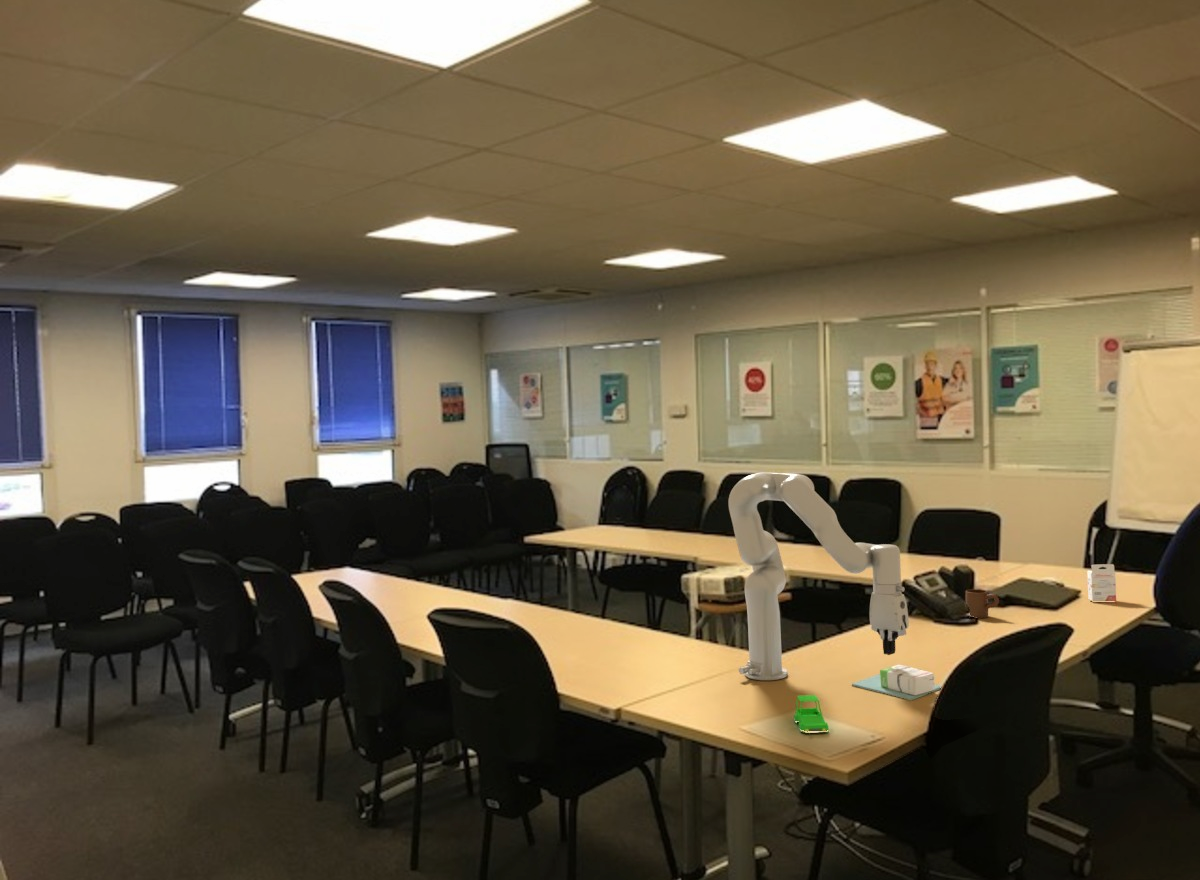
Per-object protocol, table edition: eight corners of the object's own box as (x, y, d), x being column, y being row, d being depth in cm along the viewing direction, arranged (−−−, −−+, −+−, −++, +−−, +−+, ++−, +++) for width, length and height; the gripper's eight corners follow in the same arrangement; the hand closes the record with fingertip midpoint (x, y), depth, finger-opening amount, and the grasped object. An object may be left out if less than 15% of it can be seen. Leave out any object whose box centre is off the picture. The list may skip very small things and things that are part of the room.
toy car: (793, 720, 235) (792, 695, 235) (820, 719, 235) (819, 694, 235) (801, 736, 224) (800, 709, 224) (829, 735, 224) (828, 708, 223)
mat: (911, 700, 246) (911, 698, 246) (851, 685, 261) (851, 683, 261) (942, 688, 255) (942, 686, 255) (883, 674, 270) (883, 672, 270)
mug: (1004, 618, 333) (1003, 592, 333) (993, 621, 328) (993, 595, 328) (972, 613, 342) (971, 588, 342) (962, 617, 338) (961, 591, 337)
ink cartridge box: (1111, 600, 354) (1110, 562, 354) (1116, 603, 349) (1115, 564, 349) (1087, 600, 356) (1086, 562, 355) (1092, 603, 351) (1091, 564, 350)
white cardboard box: (880, 686, 257) (914, 696, 247) (879, 669, 257) (914, 678, 247) (900, 680, 262) (935, 690, 252) (900, 663, 262) (935, 672, 252)
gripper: (918, 590, 255) (920, 655, 256) (872, 583, 267) (874, 646, 268) (902, 594, 251) (904, 661, 251) (856, 587, 263) (858, 651, 263)
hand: (889, 653), depth 260 cm, fingers closed
